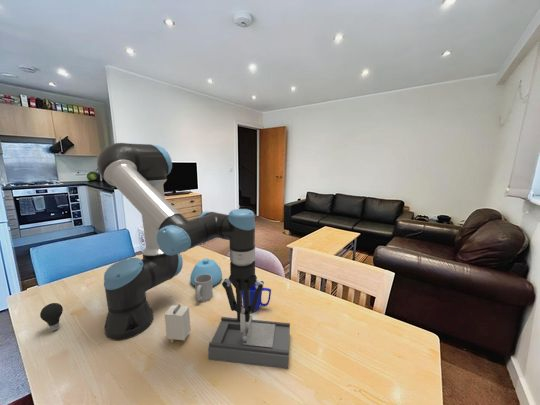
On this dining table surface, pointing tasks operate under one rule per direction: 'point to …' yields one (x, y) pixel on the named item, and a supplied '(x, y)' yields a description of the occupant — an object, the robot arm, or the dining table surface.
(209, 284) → the cup
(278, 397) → the dining table surface
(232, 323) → the sliding lid box
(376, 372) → the dining table surface
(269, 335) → the plate
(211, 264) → the sugar bowl
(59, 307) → the light bulb
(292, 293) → the dining table surface
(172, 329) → the plug
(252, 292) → the mug
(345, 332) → the dining table surface
